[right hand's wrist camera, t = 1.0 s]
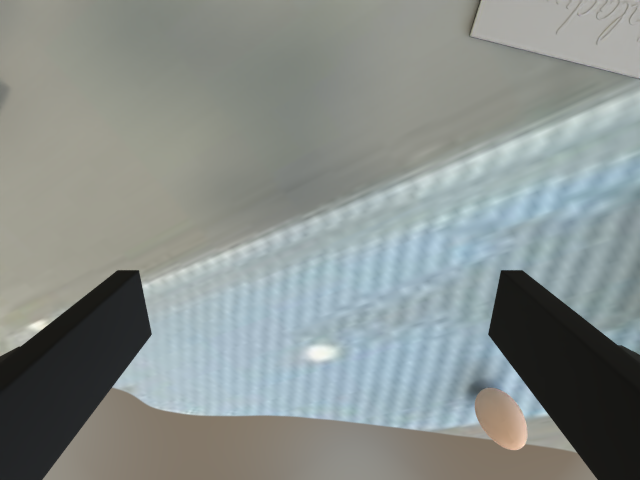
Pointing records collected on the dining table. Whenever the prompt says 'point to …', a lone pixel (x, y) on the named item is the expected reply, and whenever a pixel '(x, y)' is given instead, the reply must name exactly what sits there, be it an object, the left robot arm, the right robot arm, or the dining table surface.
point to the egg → (501, 418)
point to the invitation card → (567, 30)
